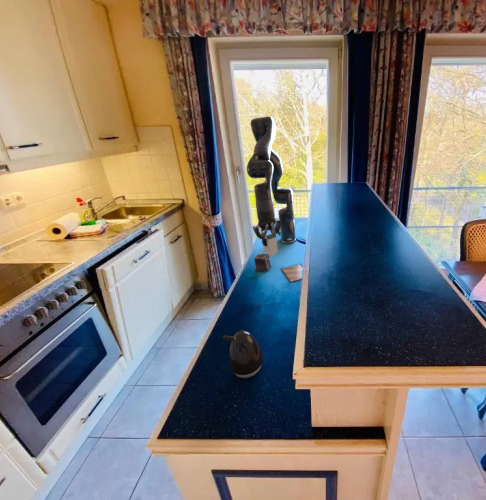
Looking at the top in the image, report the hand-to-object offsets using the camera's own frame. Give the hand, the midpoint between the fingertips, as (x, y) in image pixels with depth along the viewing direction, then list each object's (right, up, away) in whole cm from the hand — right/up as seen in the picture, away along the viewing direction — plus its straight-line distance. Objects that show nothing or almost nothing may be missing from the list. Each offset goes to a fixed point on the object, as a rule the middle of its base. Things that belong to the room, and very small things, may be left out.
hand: (269, 243), depth 128 cm
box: (-6, -13, +18) cm, 23 cm away
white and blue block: (0, -4, +2) cm, 4 cm away
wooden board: (+11, -14, +13) cm, 22 cm away
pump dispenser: (0, -41, -40) cm, 57 cm away
